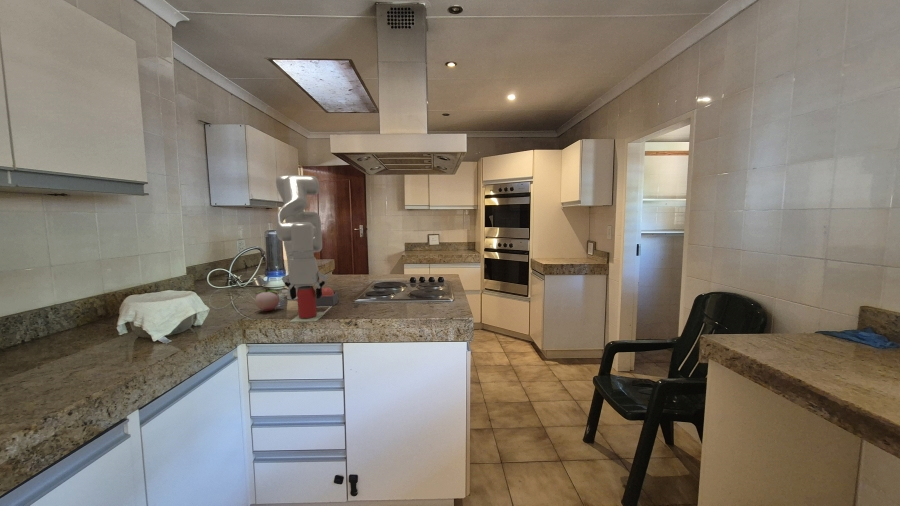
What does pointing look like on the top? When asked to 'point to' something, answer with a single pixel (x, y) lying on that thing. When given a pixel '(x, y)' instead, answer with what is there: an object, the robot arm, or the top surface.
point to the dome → (327, 291)
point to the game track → (322, 301)
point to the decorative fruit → (267, 300)
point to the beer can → (306, 302)
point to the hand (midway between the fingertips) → (306, 298)
